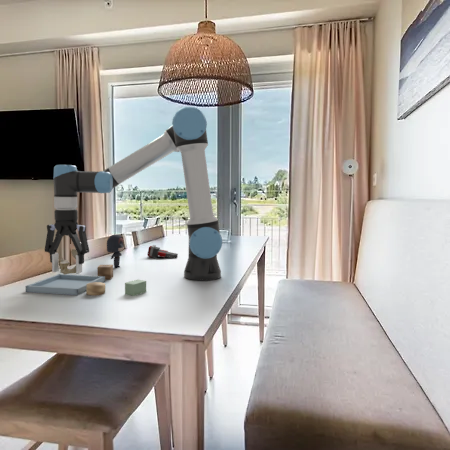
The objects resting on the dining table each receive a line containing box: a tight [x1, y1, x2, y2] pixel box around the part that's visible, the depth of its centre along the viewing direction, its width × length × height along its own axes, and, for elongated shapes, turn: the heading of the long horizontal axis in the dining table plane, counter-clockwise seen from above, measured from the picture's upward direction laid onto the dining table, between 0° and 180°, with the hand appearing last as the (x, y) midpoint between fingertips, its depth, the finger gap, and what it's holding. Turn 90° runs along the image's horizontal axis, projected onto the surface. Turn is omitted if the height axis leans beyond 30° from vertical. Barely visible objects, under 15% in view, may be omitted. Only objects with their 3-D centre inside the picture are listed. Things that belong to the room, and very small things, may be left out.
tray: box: [24, 273, 106, 296], centre depth 132 cm, size 19×19×2 cm
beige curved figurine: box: [59, 248, 78, 275], centre depth 133 cm, size 9×6×10 cm
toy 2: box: [147, 244, 179, 259], centre depth 194 cm, size 9×6×15 cm
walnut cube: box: [96, 264, 114, 281], centre depth 146 cm, size 5×5×5 cm
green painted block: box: [124, 279, 147, 297], centre depth 125 cm, size 4×6×4 cm, turn 149°
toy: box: [106, 234, 125, 269], centre depth 166 cm, size 9×8×15 cm
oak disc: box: [85, 282, 106, 297], centre depth 124 cm, size 6×6×3 cm
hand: (67, 272), depth 132 cm, fingers closed on beige curved figurine, 8 cm apart
